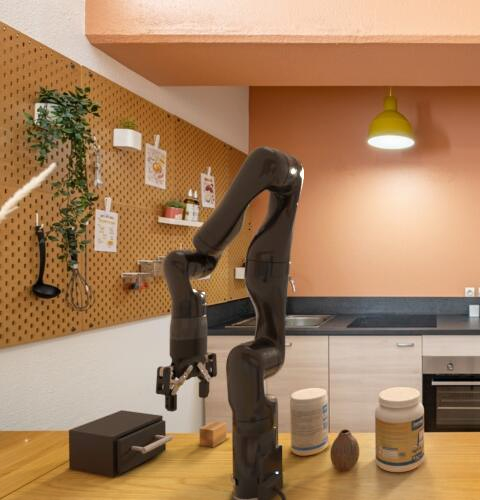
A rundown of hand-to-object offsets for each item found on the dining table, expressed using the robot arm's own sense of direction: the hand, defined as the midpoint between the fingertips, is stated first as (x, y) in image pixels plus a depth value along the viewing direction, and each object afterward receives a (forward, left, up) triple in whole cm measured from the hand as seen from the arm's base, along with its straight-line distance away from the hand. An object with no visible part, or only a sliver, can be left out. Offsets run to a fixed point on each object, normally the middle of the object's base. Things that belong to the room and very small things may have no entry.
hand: (188, 403), depth 95 cm
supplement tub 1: (-19, -19, -18) cm, 33 cm away
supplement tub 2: (-45, -19, -18) cm, 52 cm away
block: (+9, -15, -17) cm, 25 cm away
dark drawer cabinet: (+25, -1, -17) cm, 30 cm away
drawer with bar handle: (+20, -2, -16) cm, 26 cm away
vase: (-33, -13, -18) cm, 40 cm away
